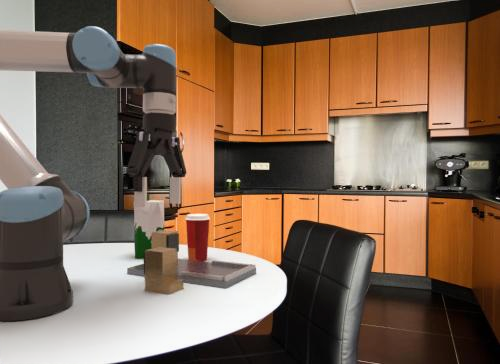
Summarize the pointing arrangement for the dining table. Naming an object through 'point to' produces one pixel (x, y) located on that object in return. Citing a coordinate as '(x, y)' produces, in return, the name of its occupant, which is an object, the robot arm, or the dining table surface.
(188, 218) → the paper cup
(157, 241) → the gray tray with block
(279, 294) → the dining table surface
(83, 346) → the dining table surface
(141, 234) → the milk carton
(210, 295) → the dining table surface
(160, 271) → the upright wooden block
